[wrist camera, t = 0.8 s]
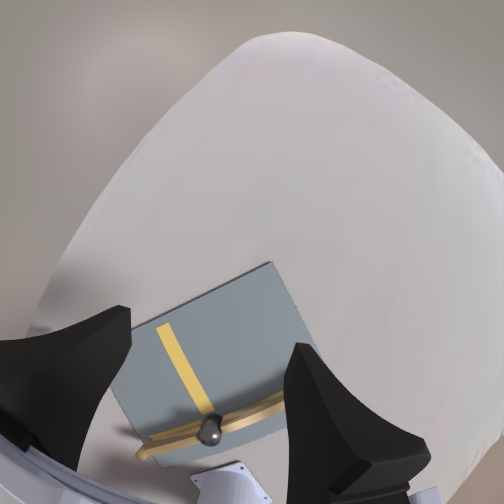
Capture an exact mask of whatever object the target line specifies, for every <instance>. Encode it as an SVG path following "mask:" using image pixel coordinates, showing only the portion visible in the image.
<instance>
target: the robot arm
mask: <svg viewBox="0 0 504 504" xmlns="http://www.w3.org/2000/svg"><path fill="white" fill-rule="evenodd" d="M131 346H132V335H131V310H130V308H128V307H124V306H121V305H117V306H114V307H112V308H110V309H108V310H105V311H103V312H101V313H99V314H97V315H95V316H93V317H90V318H88V319H86V320H84V321H82V322H79V323H77V324H74V325H72V326H69V327H67V328H64V329H61V330H58V331H55V332H52V333H49V334H45V335H41V336H36V337H31V338H25V339H17V340H4V341H0V486H1V487H2V488H3V489H4V490H6V491H7V492H8V493H9V494H11V495H12V496H13V497H14V498H16V499H17V500H18V501H20V502H21V503H22V504H157V503H153V502H150V501H146V500H143V499H140V498H137V497H134V496H131V495H128V494H126V493H123V492H120V491H117V490H115V489H112V488H110V487H107V486H105V485H103V484H100V483H98V482H96V481H94V480H91V479H89V478H87V477H85V476H83V475H81V474H79V473H77V472H76V471H77V467H78V462H79V458H80V454H81V451H82V447H83V444H84V441H85V438H86V435H87V432H88V429H89V427H90V424H91V421H92V419H93V416H94V414H95V412H96V409H97V407H98V405H99V403H100V401H101V399H102V397H103V395H104V394H105V392H106V391H107V389H108V387H109V386H110V384H111V383H112V381H113V379H114V378H115V376H116V375H117V373H118V372H119V370H120V368H121V367H122V365H123V363H124V362H125V360H126V357H127V355H128V353H129V351H130V348H131ZM283 396H284V405H285V413H286V421H287V429H288V437H289V475H288V491H287V502H286V504H443V501H442V499H441V496H440V493H439V490H438V488H437V487H436V486H435V487H432V488H429V489H426V490H424V491H421V492H418V493H415V494H413V495H411V496H409V497H408V496H407V493H406V491H408V490H409V489H410V485H409V482H408V481H410V480H411V479H412V478H413V477H415V476H416V475H417V474H418V473H419V472H420V471H422V470H423V469H424V468H425V467H426V466H427V465H428V463H429V462H430V460H431V454H430V452H429V450H428V448H427V445H426V443H425V441H424V439H423V438H420V437H418V436H416V435H413V434H411V433H409V432H406V431H404V430H402V429H400V428H398V427H397V426H395V425H393V424H391V423H389V422H388V421H386V420H385V419H383V418H381V417H380V416H378V415H377V414H376V413H374V412H373V411H371V410H370V409H369V408H367V407H366V406H365V405H364V404H363V403H361V402H360V401H359V400H358V399H357V398H356V397H355V396H353V395H352V394H351V393H350V392H349V391H348V390H347V389H346V388H345V387H344V386H343V384H342V383H341V382H340V381H339V380H338V379H337V378H336V377H335V376H334V374H333V373H332V372H331V371H330V369H329V368H328V367H327V366H326V364H325V363H324V362H323V361H322V359H321V358H320V357H319V355H318V354H317V353H316V351H315V350H314V349H313V347H312V346H311V345H310V344H307V343H299V342H296V343H295V346H294V349H293V352H292V355H291V358H290V360H289V363H288V366H287V369H286V371H285V374H284V385H283ZM240 467H244V468H240ZM190 478H191V480H192V481H193V482H194V484H195V485H196V486H197V487H198V488H199V490H200V491H201V492H200V495H199V498H198V502H197V504H270V503H272V499H271V498H270V497H269V496H268V494H267V493H266V492H265V491H264V490H263V488H262V487H261V486H260V484H259V483H258V482H257V481H256V479H255V478H254V477H253V475H252V474H251V473H250V471H249V470H248V469H247V467H246V466H245V465H244V463H243V462H236V463H233V464H230V465H227V466H224V467H220V468H217V469H213V470H210V471H206V472H202V473H198V474H194V475H191V477H190ZM195 480H197V481H195ZM264 497H266V498H264Z"/></svg>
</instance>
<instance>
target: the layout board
mask: <svg viewBox="0 0 504 504" xmlns="http://www.w3.org/2000/svg"><path fill="white" fill-rule="evenodd" d="M131 335H132V346H131V348H130V351H129V353H128V355H127V357H126V360H125V362H124V363H123V365H122V367H121V368H120V370H119V372H118V373H117V375H116V376H115V378H114V379H113V381H112V383H111V384H110V387H111V389H112V391H113V393H114V394H115V396H116V398H117V400H118V402H119V404H120V405H121V407H122V409H123V411H124V412H125V414H126V416H127V417H128V419H129V421H130V422H131V424H132V426H133V427H134V429H135V430H136V432H137V434H138V435H139V437H140V438H141V440H142V441H143V443H145V442H146V440H147V439H148V438H157V437H161V436H164V435H168V434H171V433H174V432H178V431H181V430H184V429H187V428H190V427H193V426H196V425H199V424H202V425H203V423H204V421H205V418H206V417H207V416H208V415H210V414H218V415H220V416H221V417H222V418H223V416H224V415H226V414H229V413H231V412H234V411H236V410H239V409H241V408H244V407H246V406H248V405H251V404H253V403H255V402H258V401H260V400H262V399H264V398H266V397H269V396H271V395H273V394H275V393H277V392H279V391H281V390H283V385H284V374H285V371H286V369H287V366H288V363H289V360H290V358H291V355H292V352H293V349H294V346H295V343H296V342H299V343H307V344H310V345H311V346H312V347H313V349H314V350H315V351H316V353H317V354H318V355H319V357H320V358H321V359H322V357H321V355H320V353H319V351H318V349H317V347H316V345H315V343H314V341H313V339H312V337H311V335H310V333H309V331H308V329H307V328H306V326H305V324H304V322H303V320H302V318H301V316H300V314H299V312H298V310H297V308H296V306H295V304H294V302H293V300H292V298H291V296H290V294H289V292H288V291H287V289H286V287H285V285H284V283H283V281H282V279H281V277H280V275H279V273H278V271H277V269H276V267H275V265H274V264H273V262H270V263H268V264H266V265H264V266H263V267H261V268H259V269H257V270H255V271H253V272H251V273H249V274H247V275H245V276H243V277H241V278H239V279H237V280H235V281H233V282H231V283H229V284H227V285H225V286H223V287H221V288H219V289H217V290H215V291H212V292H210V293H208V294H206V295H204V296H202V297H200V298H198V299H196V300H194V301H192V302H190V303H188V304H186V305H184V306H182V307H180V308H178V309H176V310H174V311H172V312H169V313H167V314H165V315H163V316H161V317H159V318H157V319H155V320H153V321H151V322H149V323H147V324H144V325H142V326H140V327H138V328H136V329H134V330H132V331H131ZM322 361H323V359H322ZM323 362H324V361H323ZM285 427H287V421H286V413H285V410H283V411H281V412H278V413H276V414H274V415H272V416H270V417H267V418H265V419H263V420H260V421H258V422H256V423H253V424H251V425H248V426H246V427H243V428H241V429H238V430H235V431H233V432H230V433H227V434H224V433H223V432H222V436H221V440H220V443H219V444H218V445H216V446H213V447H209V446H205V445H203V444H202V443H197V444H194V445H191V446H187V447H184V448H180V449H177V450H173V451H169V452H165V453H161V454H157V455H152V456H153V457H154V458H155V460H156V461H157V463H158V464H159V465H160V467H161V468H164V467H169V466H173V465H177V464H182V463H186V462H189V461H193V460H197V459H200V458H204V457H207V456H211V455H214V454H217V453H220V452H223V451H226V450H229V449H232V448H235V447H238V446H241V445H243V444H246V443H249V442H251V441H254V440H257V439H259V438H261V437H264V436H266V435H269V434H271V433H273V432H276V431H278V430H280V429H283V428H285Z"/></svg>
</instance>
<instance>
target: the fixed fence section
mask: <svg viewBox="0 0 504 504" xmlns="http://www.w3.org/2000/svg"><path fill="white" fill-rule="evenodd" d="M201 428H202V424H199V425H196V426H193V427H190V428H187V429H184V430H181V431H178V432H174V433H171V434H168V435H164V436H161V437H157V438H148V439H147V440H146V442H145V443H144V444H143V445H142V446H141V448H140V449H139V450H138V451H137V452H136V454H135V455H136V457H137V459H139V460H141V461H145V460H146V459H147V458H148V456H152V455H157V454H161V453H165V452H169V451H173V450H177V449H180V448H184V447H187V446H191V445H194V444H197V443H201V442H200V441H199V438H198V435H199V432H200V430H201Z"/></svg>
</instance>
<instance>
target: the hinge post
mask: <svg viewBox="0 0 504 504" xmlns="http://www.w3.org/2000/svg"><path fill="white" fill-rule="evenodd" d="M222 419H223V418H222V417H221V416H220V415H218V414H210V415H208V416H207V417H206V418H205V421H204V423H203V425H202V428H201V430H200V432H199V435H198V438H199V441H200V442H201V443H202V444H203V445H205V446H209V447H213V446H216V445H218V444H219V443H220V440H221V436H222V432H223V431H222V430H221V428H220V426H221V423H222Z"/></svg>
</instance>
